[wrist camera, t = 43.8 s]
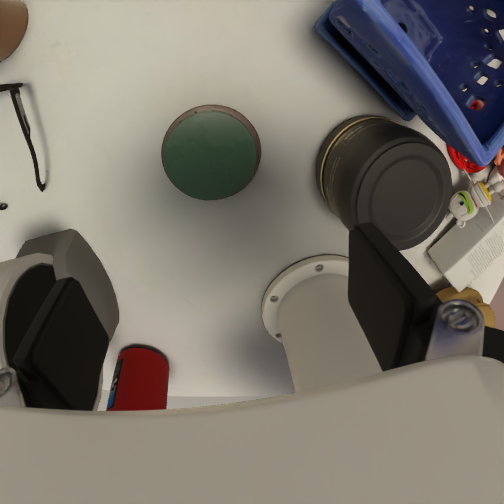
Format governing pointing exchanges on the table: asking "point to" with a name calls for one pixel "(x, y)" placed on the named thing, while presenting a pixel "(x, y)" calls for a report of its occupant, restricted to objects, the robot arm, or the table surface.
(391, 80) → the flower pot
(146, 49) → the table surface
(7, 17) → the jam jar
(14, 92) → the sunglasses
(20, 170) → the table surface
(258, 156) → the coaster
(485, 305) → the pot
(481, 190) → the toy
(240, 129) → the lid
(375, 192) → the jar
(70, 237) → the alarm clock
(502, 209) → the cosmetic box
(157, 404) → the beverage can
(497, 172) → the wrench
